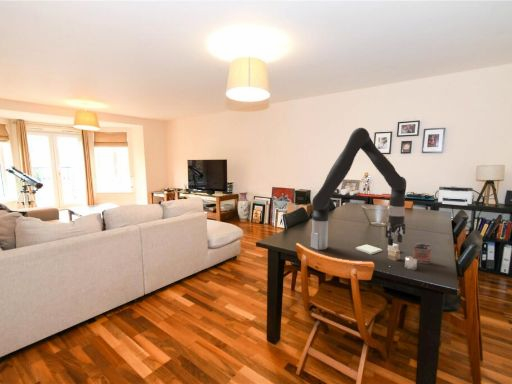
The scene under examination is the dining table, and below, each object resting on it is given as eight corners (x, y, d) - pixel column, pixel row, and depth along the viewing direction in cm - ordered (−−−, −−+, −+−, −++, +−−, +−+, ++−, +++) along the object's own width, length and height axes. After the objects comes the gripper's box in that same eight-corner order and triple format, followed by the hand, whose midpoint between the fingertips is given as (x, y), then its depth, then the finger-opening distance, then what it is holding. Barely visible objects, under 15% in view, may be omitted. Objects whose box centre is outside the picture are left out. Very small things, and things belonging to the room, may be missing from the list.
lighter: (412, 262, 131) (414, 243, 130) (411, 259, 134) (412, 241, 133) (431, 264, 128) (432, 245, 127) (429, 261, 132) (430, 243, 130)
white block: (394, 252, 145) (394, 246, 144) (387, 250, 148) (387, 244, 148) (398, 251, 147) (398, 244, 146) (391, 249, 150) (391, 242, 150)
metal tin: (413, 270, 121) (413, 260, 120) (402, 267, 125) (403, 257, 125) (418, 268, 124) (419, 258, 123) (408, 264, 128) (408, 255, 127)
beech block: (395, 260, 133) (395, 251, 133) (387, 258, 137) (388, 249, 136) (399, 259, 135) (399, 250, 135) (392, 256, 139) (392, 248, 138)
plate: (371, 254, 142) (371, 252, 142) (356, 249, 150) (356, 247, 150) (381, 251, 147) (381, 249, 147) (366, 246, 155) (366, 244, 155)
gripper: (397, 211, 140) (395, 239, 142) (381, 214, 132) (380, 244, 134) (411, 213, 133) (409, 243, 135) (395, 217, 126) (394, 248, 128)
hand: (395, 243), depth 135 cm, fingers open, 8 cm apart
